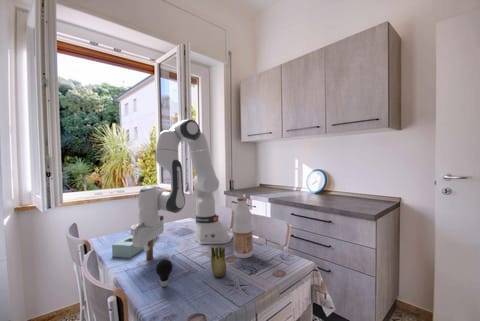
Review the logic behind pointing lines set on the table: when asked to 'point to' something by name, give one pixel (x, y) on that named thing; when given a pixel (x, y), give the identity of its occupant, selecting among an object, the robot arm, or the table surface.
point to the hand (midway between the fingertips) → (149, 248)
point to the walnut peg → (150, 250)
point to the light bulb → (164, 271)
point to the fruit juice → (242, 230)
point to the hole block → (125, 248)
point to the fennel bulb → (218, 261)
